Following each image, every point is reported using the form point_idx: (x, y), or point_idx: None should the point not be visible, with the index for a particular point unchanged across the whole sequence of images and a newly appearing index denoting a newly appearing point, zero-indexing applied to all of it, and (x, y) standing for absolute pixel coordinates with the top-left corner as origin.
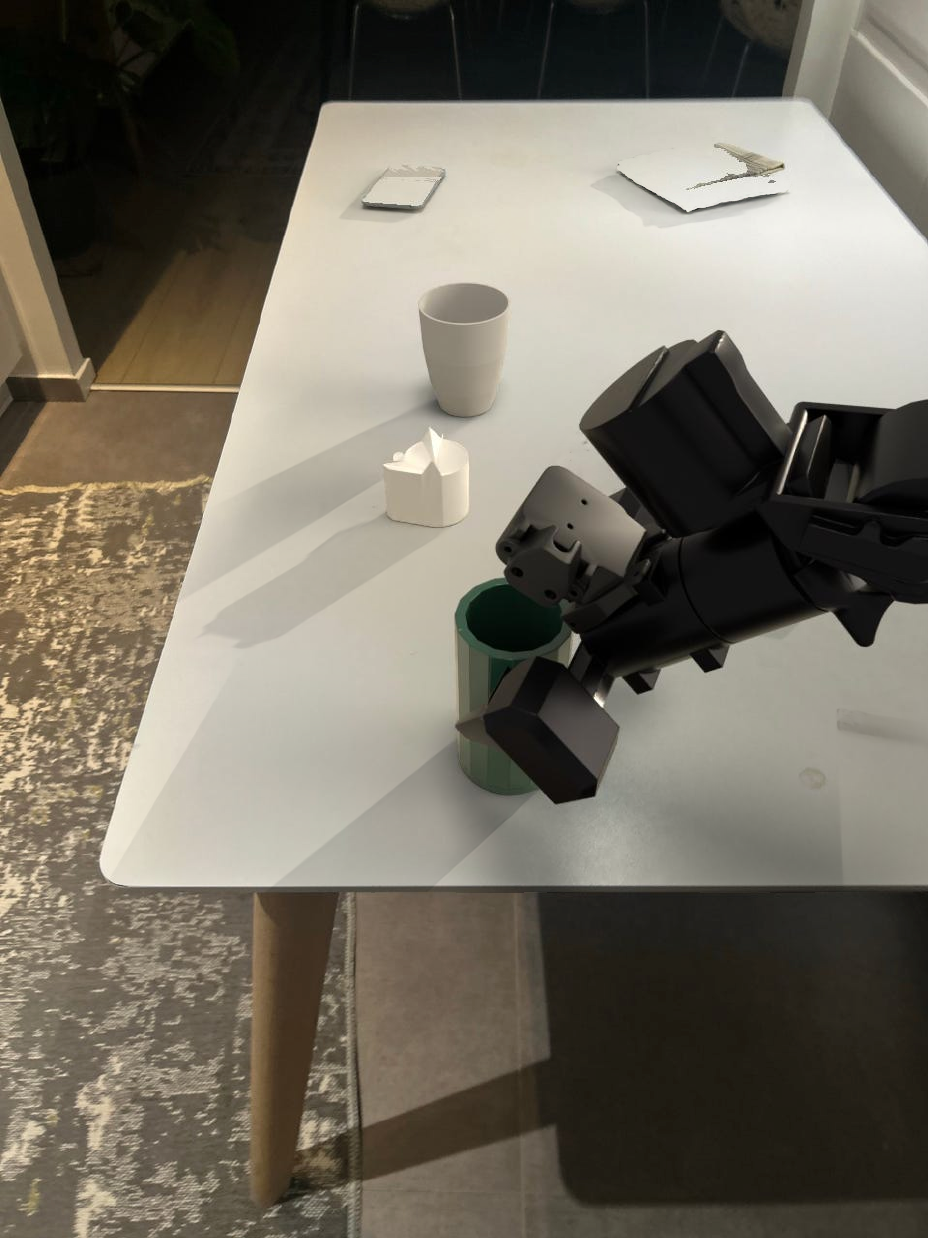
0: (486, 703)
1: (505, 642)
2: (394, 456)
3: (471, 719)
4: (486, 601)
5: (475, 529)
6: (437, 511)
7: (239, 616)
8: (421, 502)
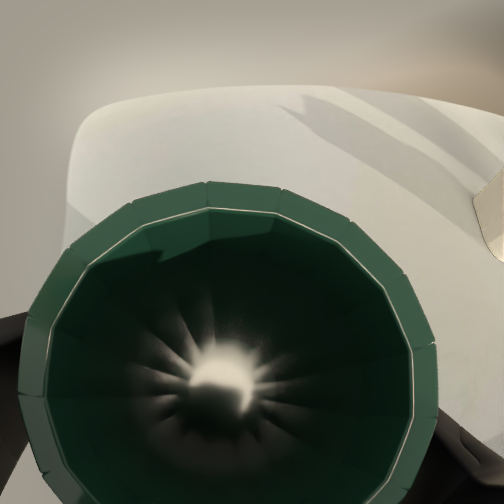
0: (18, 335)
1: (312, 360)
2: None
3: (24, 312)
4: (331, 280)
5: (496, 274)
6: (496, 232)
7: (328, 111)
8: (496, 214)
